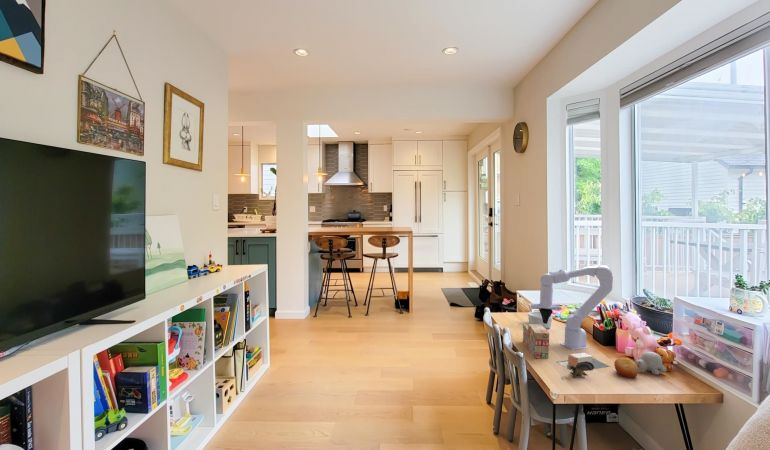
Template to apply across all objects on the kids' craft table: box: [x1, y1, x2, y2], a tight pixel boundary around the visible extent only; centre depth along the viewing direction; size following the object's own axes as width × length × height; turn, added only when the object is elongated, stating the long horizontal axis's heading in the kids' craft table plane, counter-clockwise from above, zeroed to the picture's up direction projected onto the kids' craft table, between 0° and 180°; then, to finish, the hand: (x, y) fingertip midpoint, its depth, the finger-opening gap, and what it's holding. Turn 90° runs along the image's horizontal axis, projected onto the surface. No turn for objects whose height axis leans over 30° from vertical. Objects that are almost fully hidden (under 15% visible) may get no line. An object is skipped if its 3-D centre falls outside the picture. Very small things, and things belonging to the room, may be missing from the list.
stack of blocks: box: [522, 323, 550, 360], centre depth 168 cm, size 21×6×12 cm, turn 172°
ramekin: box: [527, 311, 553, 330], centre depth 206 cm, size 13×13×7 cm
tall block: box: [567, 352, 593, 367], centre depth 152 cm, size 4×4×9 cm
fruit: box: [614, 357, 638, 378], centre depth 143 cm, size 8×8×8 cm
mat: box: [556, 357, 612, 372], centre depth 152 cm, size 20×10×1 cm, turn 107°
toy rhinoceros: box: [633, 351, 667, 376], centre depth 146 cm, size 7×12×8 cm, turn 87°
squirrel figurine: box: [566, 361, 595, 379], centre depth 141 cm, size 8×7×9 cm
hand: (545, 323), depth 180 cm, fingers closed
